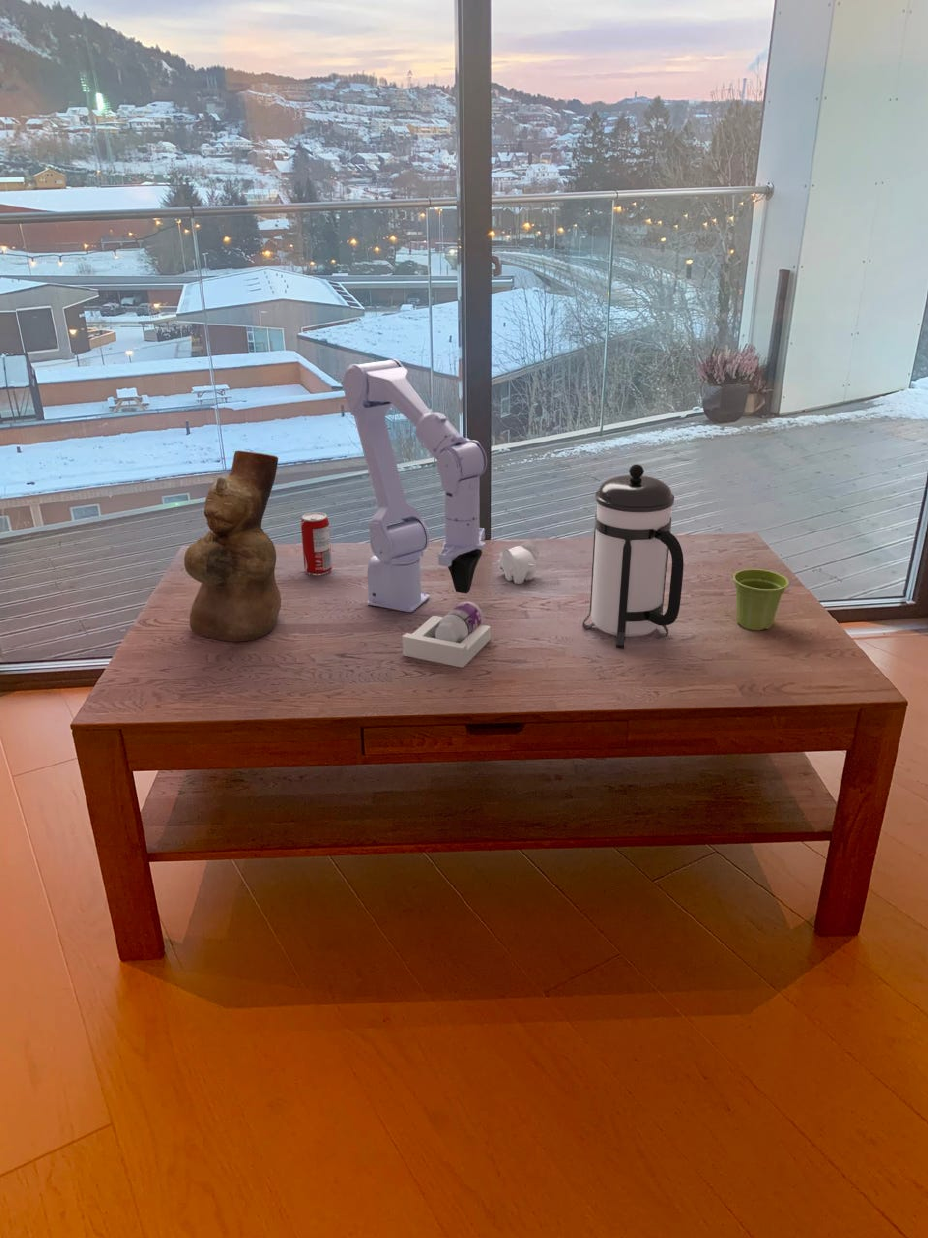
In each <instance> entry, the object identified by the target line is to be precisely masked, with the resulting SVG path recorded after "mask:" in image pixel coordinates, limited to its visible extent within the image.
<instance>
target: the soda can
mask: <svg viewBox="0 0 928 1238" xmlns="http://www.w3.org/2000/svg"><path fill="white" fill-rule="evenodd" d="M328 519H329V518H328V515H327V514H326V513H324V512H318V511H316V512H315V511H314V512H313V511H312V512H308V513H304V514H303V515H302V516H301V520H300V521H301V522H300V531H301V532H300V533H301V541H302V554H303V568H304V571H305V572H306V573H307V574H308V573H310V574H317V575H316V576H319V575H318V574H324V575H326V574H325V573H327V572H329V571H330V572H331V571H332V568H333V562H332V561H333V560H332V550H331V533H330V522H329V520H328ZM330 572H329V573H330ZM310 574H309V575H310ZM327 574H328V573H327Z"/></svg>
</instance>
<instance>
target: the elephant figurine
mask: <svg viewBox="0 0 928 1238" xmlns="http://www.w3.org/2000/svg"><path fill="white" fill-rule="evenodd" d="M539 554H540V553H539V551H538V549H537V547H536V545H535V544H534V542H532V541H531V540H526V541H524V542H522V543H521V545H517V546H514V547H512V548H509V549H507V548H506V549H505V548H504V549H503V550H502V551H501V552H500V553H499V558H498V560H496V561H495V562H493V563H492V566H493V565H496V564H497V566H498V567H497V568H498V572H500V573H504V577H505V580H507V581H509V582H510V581H511V582H512V581H513V582H514V583H515V584H516V585H521V584H523V583H524V581H525V580H526V581H529V580H532V579H534V576H535V574H536V572H537V565H536V560H537V559H538V557H539Z"/></svg>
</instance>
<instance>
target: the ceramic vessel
mask: <svg viewBox="0 0 928 1238" xmlns="http://www.w3.org/2000/svg"><path fill="white" fill-rule="evenodd" d="M278 465H279V457H278V456H277V455H274V454H267V453H263V452H262V453H261V452H254V451H246V450H235V451H234V453H233V457H232V465H231V468H230V472H229V474H228V476H227V477H222V476H219V477H218V478H217V480H216V482H214V483H213V484H212V485H211V486H210V487H209V490H208V492H207V495H206V497H205V500H204V507H203V508H204V509H203V515H204V517H205V518H206V525H207V526H208V528H209V530H208V532H207V533H206V535H205V536H202V537H200V538H199V539H197V540H196V541H195V542H193V543H192V544H190V545H189V546H188V548H187V549H186V551H185V554H184V558H183V561H184V562H183V563H184V568H185V571H186V573H187V574H188V575H189V576H190V577H191V578H192V579H194V580H195V581H197V582H200V583H201V585H200V587H199V589H198V591H197V594H196V596H195V598H194V601H193V603H192V606H191V610H190V614H189V628H190V630H191V631H192V632H193V633H194V634H198V635H200V636H203V637H206V638H209V639H214V640H218V641H225V642H233V643H235V642H249V641H254V640H258V639H260V638H263V637H265V636H267V635H268V634H269V633H271V631H272V630H273V629H274V627H275V625H276V622H277V619H278V617H279V614H280V611H281V608H282V597H281V593H280V590H279V587H278V585H277V579H276V575H275V569H276V566H277V550H276V548H275V544H274V542H273V541H272V540H271V538H270V537H269V536H268V534H266V532H264V530H263V529H262V520H263V516H264V513H265V511H266V508H267V504H268V501H269V499H270V496H271V492H272V490H273V486H274V483H275V479H276V476H277V475H276V474H277V470H278Z"/></svg>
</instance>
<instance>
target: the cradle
mask: <svg viewBox="0 0 928 1238" xmlns="http://www.w3.org/2000/svg"><path fill="white" fill-rule="evenodd" d="M443 617H444V616H443ZM443 617H442V616H437V615H432V616H431V617H430V618H429V619H427V620H425V622H423V624H422V625H420V626H419V627H418V628H417V629H416V630H415V631H414V632H412V633H410V632H409V633H408V632H406V633H404V634H403V635H402V639H401V640H402V656H405V657H410V658H414V659H419V660H424V661H429V662H433V663H437V664H443V665H449V666H452V667H456V668H462V669H463V668H465V666H466V665H467V664H468V663H469V662H471V660H472V659H473V658H474V657H475V656H476V655H477V654H478V653H479V652H480V651H481V650H482V649H483V648H484V647H485V646H486V645H488V643H489V642H490V641H491V636H492V635H491V632H492V631H491V630H492V628H491V626H490V625H485V624H480V625H479V626H478V627H477V628H476V629H475V630H474V631H473V632H472V633H471V634H470V635H469V636H468V637H467V638H465V639H464V640H463V641H462V642H461V643H455V642H450V641H445V640H440V639H436V637H435V631H436V629H437V628H438V627H439V623H440V621H441V619H442V618H443Z"/></svg>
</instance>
